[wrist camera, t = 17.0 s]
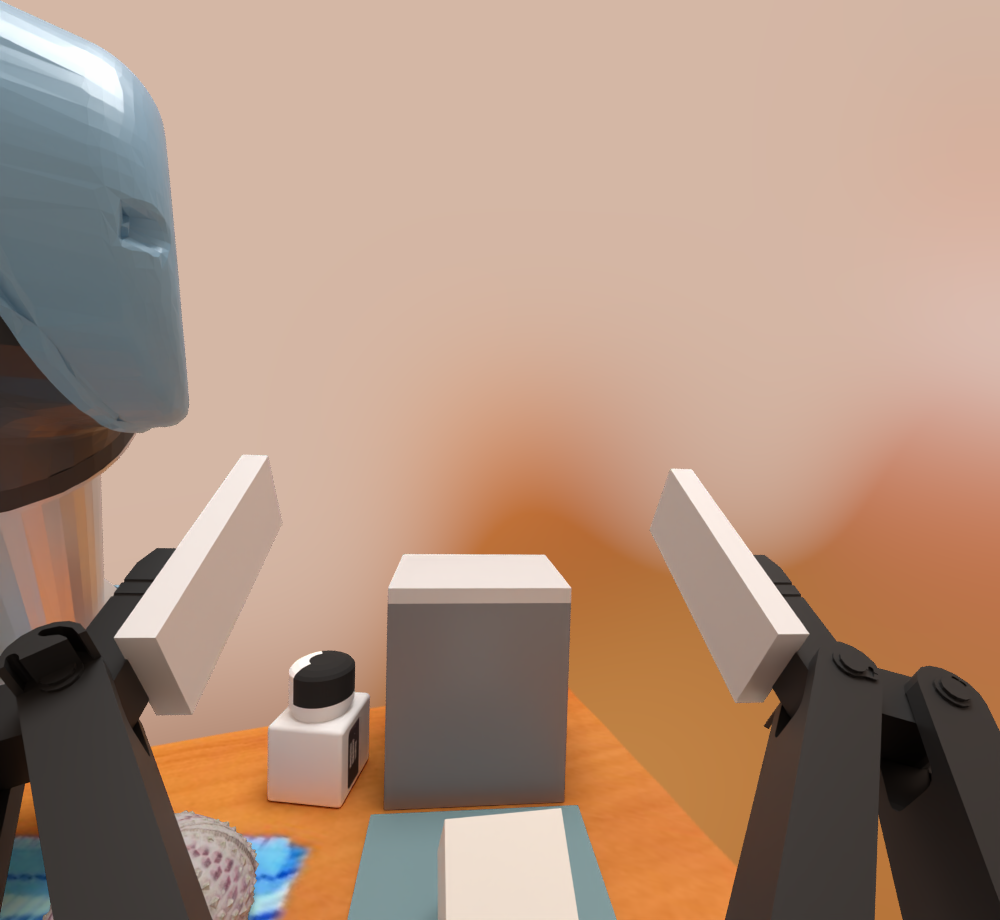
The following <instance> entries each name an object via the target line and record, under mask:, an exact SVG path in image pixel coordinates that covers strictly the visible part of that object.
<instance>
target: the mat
mask: <svg viewBox="0 0 1000 920" xmlns="http://www.w3.org/2000/svg"><path fill="white" fill-rule="evenodd" d="M557 808H561V810H562V816H563V822H564V829H565V835H566V842H567V848H568V855H569V861H570V867H571V874H572V880H573V887H574V893H575V900H576V906H577V912H578V919H579V920H617V919H616V916H615V914H614V911H613V908H612V905H611V902H610V899H609V896H608V893H607V890H606V887H605V884H604V881H603V878H602V875H601V872H600V869H599V866H598V863H597V860H596V857H595V854H594V852H593V849H592V846H591V843H590V840H589V837H588V834H587V831H586V828H585V825H584V822H583V819H582V816H581V813H580V810H579V807H578V805H570V806H548V807H527V808H505V809H483V810H461V811H440V812H418V813H396V814H374V815H371V817H370V821H369V826H368V830H367V834H366V839H365V843H364V848H363V852H362V857H361V861H360V866H359V870H358V875H357V879H356V884H355V888H354V893H353V897H352V902H351V906H350V911H349V915H348V920H438V857H437V851H438V847H439V842H440V838H441V834H442V829H443V825H444V820H445V819H453V818H463V817H474V816H484V815H495V814H505V813H515V812H526V811H536V810H547V809H557Z"/></svg>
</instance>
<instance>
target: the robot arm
mask: <svg viewBox="0 0 1000 920" xmlns="http://www.w3.org/2000/svg"><path fill="white" fill-rule="evenodd" d="M188 408H189V396H188V382H187V370H186V358H185V347H184V336H183V325H182V314H181V302H180V290H179V278H178V266H177V255H176V244H175V233H174V223H173V212H172V200H171V190H170V180H169V169H168V158H167V149H166V139H165V133H164V127H163V123H162V119H161V116H160V113H159V111H158V109H157V106H156V104H155V103H154V101H153V99H152V97H151V96H150V94H149V93H148V91H147V90H146V88H145V87H144V86H143V84H142V83H141V82H140V80H139V79H138V78H137V77H136V76H135V75H134V74H133V73H132V72H131V71H130V70H129V69H128V68H127V67H126V66H125V65H124V64H123V63H122V62H121V61H119V60H118V59H117V58H116V57H114V56H113V55H112V54H110V53H109V52H107V51H106V50H104V49H103V48H101V47H99V46H97V45H96V44H94V43H92V42H90V41H88V40H85V39H83V38H81V37H79V36H76V35H74V34H72V33H70V32H68V31H66V30H63V29H61V28H59V27H57V26H55V25H53V24H50V23H48V22H46V21H44V20H42V19H39V18H37V17H35V16H33V15H31V14H28V13H26V12H24V11H22V10H20V9H17V8H15V7H13V6H11V5H8V4H7V3H4V2H2V1H0V911H1V906H2V901H3V896H4V891H5V885H6V880H7V875H8V870H9V864H10V859H11V854H12V849H13V844H14V838H15V833H16V828H17V823H18V817H19V812H20V807H21V802H22V797H23V791H24V786H25V783H28V782H30V784H31V790H32V796H33V802H34V808H35V814H36V820H37V825H38V831H39V837H40V843H41V849H42V855H43V861H44V867H45V873H46V879H47V885H48V891H49V897H50V903H51V908H52V914H53V920H213V919H212V917H211V914H210V911H209V908H208V906H207V903H206V900H205V897H204V894H203V892H202V889H201V886H200V883H199V881H198V878H197V875H196V872H195V869H194V867H193V864H192V861H191V858H190V856H189V853H188V850H187V847H186V845H185V842H184V839H183V836H182V833H181V831H180V828H179V825H178V822H177V820H176V817H175V814H174V811H173V808H172V806H171V803H170V800H169V797H168V795H167V792H166V789H165V786H164V784H163V781H162V778H161V775H160V772H159V770H158V767H157V764H156V761H155V759H154V756H153V753H152V750H151V747H150V745H149V742H148V739H147V737H146V734H145V731H144V728H143V725H142V723H141V722H140V720H139V717H140V716H141V714H142V712H143V710H144V708H145V707H146V705H147V703H148V701H149V703H150V704H151V706H152V708H153V710H154V712H155V714H156V715H192V714H193V712H194V710H195V708H196V706H197V704H198V701H199V699H200V697H201V695H202V693H203V691H204V689H205V687H206V685H207V682H208V680H209V678H210V676H211V674H212V672H213V669H214V668H215V665H216V663H217V661H218V659H219V657H220V655H221V653H222V651H223V648H224V646H225V644H226V642H227V640H228V638H229V636H230V633H231V631H232V629H233V627H234V625H235V623H236V621H237V619H238V616H239V614H240V612H241V610H242V608H243V606H244V604H245V602H246V599H247V597H248V595H249V593H250V591H251V589H252V586H253V584H254V582H255V580H256V578H257V576H258V574H259V572H260V569H261V567H262V565H263V563H264V561H265V559H266V557H267V555H268V553H269V551H270V548H271V546H272V544H273V542H274V540H275V538H276V536H277V533H278V531H279V529H280V527H281V525H282V519H281V514H280V509H279V505H278V500H277V495H276V491H275V486H274V481H273V476H272V471H271V467H270V462H269V457H268V456H267V455H242V456H241V457H240V459H239V460H238V462H237V463H236V465H235V466H234V468H233V469H232V470H231V472H230V473H229V475H228V476H227V477H226V479H225V480H224V482H223V483H222V485H221V486H220V487H219V489H218V490H217V492H216V493H215V494H214V496H213V497H212V499H211V500H210V501H209V503H208V505H207V506H206V507H205V509H204V510H203V511H202V513H201V514H200V516H199V517H198V519H197V520H196V521H195V523H194V524H193V526H192V527H191V529H190V530H189V531H188V533H187V534H186V536H185V537H184V538H183V540H182V541H181V543H180V544H179V546H178V547H177V548H176V549H175V548H173V549H172V548H157V549H155V550H154V551H152V552H151V553H150V554H148V555H147V556H146V557H144V558H143V559H142V560H140V561H139V562H137V564H136V565H135V566H134V567H133V569H132V570H131V571H130V573H129V574H128V575H127V576H126V578H125V579H124V583H121V584H120V585H112V584H111V583H110V582H109V581H107V580H106V579H105V578H104V564H103V533H102V502H101V501H102V499H101V474H102V473H103V472H104V471H106V470H107V469H108V468H109V467H110V466H111V465H112V464H113V463H114V462H116V461H117V460H118V459H119V458H120V456H121V455H122V454H123V453H124V452H125V450H126V449H127V448H128V447H129V445H130V443H131V442H132V440H133V438H134V437H135V435H136V433H143V432H145V431H148V430H150V429H151V428H154V427H168V426H173V425H176V424H178V423H179V422H180V421H181V420H183V419H184V418H185V417H186V415H187V413H188ZM650 532H651V533H652V536H653V538H654V540H655V542H656V544H657V546H658V548H659V550H660V552H661V554H662V556H663V558H664V560H665V561H666V564H667V566H668V568H669V570H670V572H671V574H672V576H673V578H674V580H675V582H676V584H677V586H678V588H679V590H680V592H681V594H682V596H683V598H684V600H685V602H686V604H687V606H688V608H689V610H690V612H691V614H692V616H693V618H694V620H695V622H696V624H697V626H698V629H699V631H700V633H701V635H702V637H703V639H704V641H705V643H706V645H707V647H708V649H709V651H710V653H711V655H712V657H713V659H714V661H715V663H716V665H717V667H718V669H719V671H720V673H721V675H722V677H723V679H724V681H725V683H726V685H727V687H728V689H729V691H730V693H731V695H732V697H733V699H734V701H735V703H751V702H764V700H765V699H766V697H767V696H768V694H769V693H770V692H771V690H772V689H773V690H774V691H775V693H776V695H777V696H778V698H779V700H780V704H779V705H778V706H777V708H776V709H775V711H774V712H773V713H772V715H771V716H770V718H769V719H768V721H767V722H766V724H765V725H764V727H766V728H768V729H769V727H770V726H771V725H772V727H771V731H770V735H769V739H768V744H767V747H766V752H765V756H764V760H763V764H762V768H761V772H760V776H759V781H758V785H757V790H756V794H755V797H754V802H753V806H752V810H751V814H750V818H749V822H748V827H747V831H746V835H745V839H744V843H743V847H742V851H741V856H740V860H739V864H738V868H737V872H736V876H735V880H734V885H733V889H732V893H731V897H730V901H729V905H728V910H727V914H726V918H725V920H874V919H875V892H876V864H877V835H878V815H879V819H880V824H881V828H882V832H883V836H884V841H885V845H886V849H887V854H888V858H889V862H890V866H891V871H892V875H893V880H894V884H895V888H896V892H897V897H898V901H899V906H900V910H901V914H902V918H903V920H1000V731H999V729H998V727H997V725H996V723H995V721H994V718H993V717H992V714H991V712H990V710H989V708H988V706H987V704H986V703H985V701H984V700H983V698H982V697H981V695H980V694H979V693H978V692H977V691H976V690H975V689H974V688H973V687H972V686H971V685H970V684H968V683H967V682H965V681H964V680H963V679H961V678H960V677H958V676H956V675H955V674H953V673H951V672H948V671H946V670H944V669H942V668H938V667H932V666H926V667H921V668H920V669H919V670H918V671H917V672H916V673H915V674H914V675H913V676H912V677H909V676H905V675H902V674H897V673H894V672H890V671H887V670H883V669H879V668H877V666H876V665H875V663H874V662H873V661H872V660H870V659H869V658H868V657H867V656H866V655H865V654H864V653H862V652H861V651H859V650H857V649H856V648H854V647H852V646H850V645H847V644H845V643H842V642H837V641H836V640H835V639H834V637H833V636H832V635H831V633H830V632H829V631H828V629H827V628H826V627H825V626H824V624H823V623H822V622H821V620H820V619H819V618H818V616H817V615H816V614H815V612H814V611H813V610H812V608H811V607H810V606H809V604H808V603H807V602H806V601H805V599H804V598H803V597H801V594H800V593H799V591H798V590H797V589H796V587H795V586H793V585H792V582H791V581H790V580H789V578H788V577H787V576H786V574H785V573H784V572H783V570H782V569H781V568H780V567H779V566H778V565H776V564H775V563H774V562H772V561H771V560H770V559H769V558H768V557H766V556H765V555H753V554H752V553H751V551H750V550H749V549H748V547H747V546H746V545H745V543H744V542H743V540H742V539H741V538H740V536H739V535H738V533H737V532H736V531H735V529H734V528H733V527H732V525H731V524H730V522H729V521H728V519H727V518H726V517H725V516H724V514H723V512H722V511H721V510H720V508H719V507H718V506H717V504H716V503H715V501H714V500H713V498H712V497H711V496H710V494H709V493H708V492H707V490H706V489H705V487H704V486H703V485H702V483H701V482H700V480H699V479H698V478H697V476H696V475H695V473H694V472H693V471H692V470H691V469H670V471H669V474H668V477H667V480H666V483H665V486H664V489H663V492H662V495H661V498H660V501H659V504H658V507H657V510H656V513H655V516H654V519H653V522H652V525H651V528H650Z"/></svg>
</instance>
